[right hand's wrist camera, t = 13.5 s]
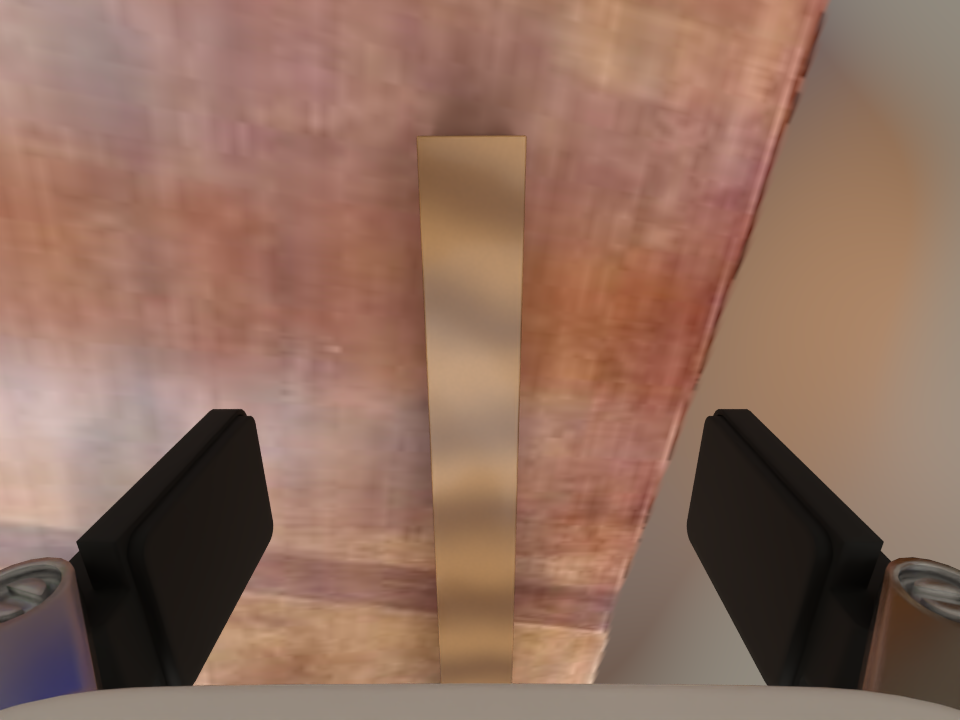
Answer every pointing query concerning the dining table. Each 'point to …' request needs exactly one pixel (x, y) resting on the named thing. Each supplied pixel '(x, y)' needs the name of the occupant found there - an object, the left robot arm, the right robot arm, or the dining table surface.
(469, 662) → the bar
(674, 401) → the dining table surface
